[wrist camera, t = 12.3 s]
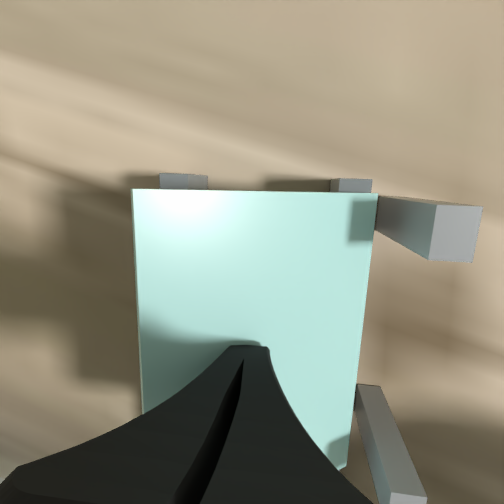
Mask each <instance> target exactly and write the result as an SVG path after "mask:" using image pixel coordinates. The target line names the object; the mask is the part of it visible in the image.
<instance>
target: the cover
mask: <svg viewBox="0 0 504 504" xmlns="http://www.w3.org/2000/svg"><path fill="white" fill-rule="evenodd" d="M377 200H378V193H347V192H294V191H240V190H187V189H133V188H131V207H132V226H133V245H134V265H135V284H136V303H137V322H138V341H139V360H140V379H141V398H142V414H144V413H146V412H148V411H150V410H151V409H153V408H155V407H156V406H158V405H159V404H161V403H162V402H164V401H166V400H167V399H169V398H170V397H172V396H173V395H174V394H176V393H177V392H179V391H180V390H181V389H183V388H184V387H185V386H186V385H187V384H189V383H190V382H191V381H192V380H194V379H195V378H196V377H197V376H198V375H200V374H201V373H202V372H203V371H204V370H205V369H206V368H207V367H208V366H209V365H211V364H212V363H213V362H214V361H215V360H216V359H217V358H218V357H219V356H220V355H221V354H222V353H223V352H224V351H225V350H226V349H227V348H228V347H229V346H230V345H256V346H267V347H268V348H269V350H270V357H271V362H272V365H273V368H274V371H275V374H276V376H277V379H278V381H279V384H280V386H281V388H282V390H283V392H284V394H285V396H286V398H287V400H288V402H289V404H290V406H291V408H292V409H293V411H294V413H295V414H296V416H297V418H298V419H299V421H300V422H301V424H302V425H303V427H304V428H305V430H306V431H307V433H308V434H309V435H310V437H311V438H312V440H313V441H314V442H315V443H316V445H317V446H318V447H319V448H320V449H321V451H322V452H323V453H324V454H325V455H326V457H327V458H328V459H329V460H330V461H331V463H332V464H333V465H334V466H335V467H336V469H337V470H339V469H341V468H343V467H345V466H346V464H347V456H348V447H349V439H350V430H351V421H352V413H353V404H354V396H355V387H356V379H357V370H358V362H359V353H360V345H361V336H362V328H363V319H364V311H365V302H366V294H367V285H368V277H369V268H370V260H371V251H372V243H373V234H374V226H375V217H376V208H377Z"/></svg>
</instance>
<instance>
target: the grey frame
mask: <svg viewBox="0 0 504 504" xmlns="http://www.w3.org/2000/svg"><path fill="white" fill-rule="evenodd" d="M159 178H160V189H187V190H208V176H205V175H194V174H172V173H159ZM371 188H372V179H341V178H340V179H331V184H330V192H347V193H371ZM482 210H483V206H474V205H466V204H458V203H450V202H442V201H433V200H425V199H417V198H409V197H386V196H380V197H379V205H378V213H377V222H376V231H378V232H380V233H382V234H383V235H385V236H387V237H389V238H390V239H392V240H394V241H396V242H398V243H399V244H401V245H403V246H405V247H406V248H408V249H410V250H412V251H413V252H415V253H417V254H419V255H420V256H422V257H424V258H426V259H427V260H437V261H454V262H471V263H472V262H473V257H474V252H475V247H476V241H477V236H478V231H479V226H480V220H481V215H482ZM354 411H355V415H356V418H357V422H358V426H359V430H360V433H361V437H362V441H363V445H364V448H365V452H366V456H367V460H368V464H369V467H370V471H371V475H372V479H373V482H374V486H375V490H376V494H377V497H378V501H379V504H426V503H427V498H428V497H427V495H426V493H425V490H424V488H423V486H422V483H421V481H420V479H419V476H418V474H417V472H416V469H415V467H414V465H413V462H412V460H411V457H410V455H409V453H408V450H407V448H406V446H405V443H404V441H403V439H402V436H401V434H400V432H399V429H398V427H397V425H396V422H395V420H394V417H393V415H392V413H391V410H390V408H389V406H388V403H387V401H386V399H385V396H384V394H383V392H382V389H381V387H379V386H370V385H360V384H357V391H356V399H355V408H354ZM338 471H339V472H340V469H339V470H338Z"/></svg>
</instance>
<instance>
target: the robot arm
mask: <svg viewBox="0 0 504 504" xmlns="http://www.w3.org/2000/svg"><path fill="white" fill-rule="evenodd" d="M0 504H373V503H372V502H371V501H370V500H369V499H367V498H366V497H365V496H364V495H363V494H362V493H361V492H360V491H359V490H357V489H356V488H355V487H354V486H353V485H352V484H351V483H350V482H349V481H348V480H347V479H346V478H345V477H344V476H343V475H342V474H341V473H340V472H339V471H338V470H337V469H336V467H335V466H334V465H333V464H332V463H331V461H330V460H329V459H328V458H327V457H326V455H325V454H324V453H323V452H322V451H321V449H320V448H319V447H318V446H317V445H316V443H315V442H314V441H313V440H312V438H311V437H310V435H309V434H308V433H307V431H306V430H305V428H304V427H303V425H302V424H301V422H300V421H299V419H298V418H297V416H296V414H295V413H294V411H293V409H292V408H291V406H290V404H289V402H288V400H287V398H286V396H285V394H284V392H283V390H282V388H281V386H280V384H279V381H278V379H277V376H276V374H275V371H274V368H273V365H272V362H271V357H270V350H269V348H268V347H267V346H256V345H230V346H229V347H228V348H227V349H226V350H225V351H224V352H223V353H222V354H221V355H220V356H219V357H218V358H217V359H216V360H215V361H214V362H213V363H212V364H211V365H209V366H208V367H207V368H206V369H205V370H204V371H203V372H202V373H201V374H200V375H198V376H197V377H196V378H195V379H194V380H192V381H191V382H190V383H189V384H187V385H186V386H185V387H184V388H183V389H181V390H180V391H179V392H177V393H176V394H174V395H173V396H172V397H170V398H169V399H167V400H166V401H164V402H162V403H161V404H159V405H158V406H156V407H155V408H153V409H151V410H150V411H148V412H146V413H144V414H142V415H140V416H139V417H137V418H135V419H133V420H131V421H129V422H128V423H126V424H124V425H122V426H120V427H118V428H116V429H114V430H112V431H109V432H107V433H105V434H103V435H101V436H99V437H96V438H94V439H92V440H89V441H87V442H85V443H82V444H80V445H77V446H75V447H72V448H70V449H67V450H64V451H61V452H58V453H56V454H53V455H50V456H47V457H44V458H42V459H39V460H36V461H33V462H30V463H27V464H24V465H21V466H18V467H17V468H16V469H15V470H14V471H13V472H12V473H11V474H10V475H9V476H8V477H7V478H6V479H5V480H4V481H3V482H2V483H1V484H0Z"/></svg>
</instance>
